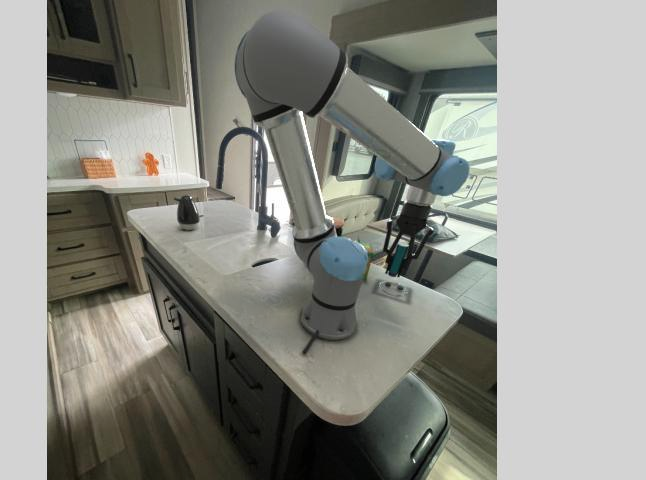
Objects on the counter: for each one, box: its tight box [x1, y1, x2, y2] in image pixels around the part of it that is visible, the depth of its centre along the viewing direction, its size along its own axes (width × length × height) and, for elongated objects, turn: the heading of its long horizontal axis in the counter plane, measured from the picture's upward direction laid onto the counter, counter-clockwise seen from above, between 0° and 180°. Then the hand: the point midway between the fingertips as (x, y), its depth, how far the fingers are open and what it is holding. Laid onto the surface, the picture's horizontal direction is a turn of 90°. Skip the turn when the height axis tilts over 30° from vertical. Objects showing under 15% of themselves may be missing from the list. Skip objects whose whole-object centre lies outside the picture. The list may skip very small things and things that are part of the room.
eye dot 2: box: [396, 285, 405, 291], centre depth 91 cm, size 2×2×1 cm
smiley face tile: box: [378, 280, 409, 297], centre depth 92 cm, size 10×11×1 cm
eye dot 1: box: [384, 282, 392, 288], centre depth 92 cm, size 2×2×1 cm
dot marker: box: [387, 242, 409, 278], centre depth 87 cm, size 3×3×11 cm
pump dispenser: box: [173, 194, 201, 231], centre depth 124 cm, size 10×10×15 cm
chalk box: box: [357, 234, 374, 282], centre depth 96 cm, size 9×9×15 cm
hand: (392, 273), depth 90 cm, fingers closed on dot marker, 3 cm apart
